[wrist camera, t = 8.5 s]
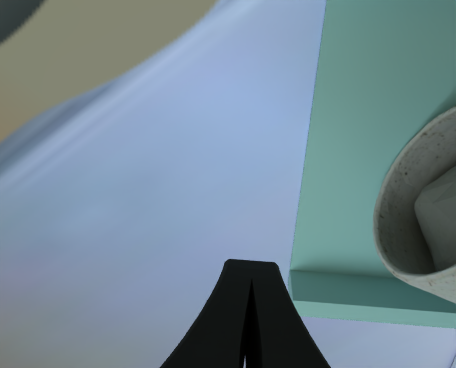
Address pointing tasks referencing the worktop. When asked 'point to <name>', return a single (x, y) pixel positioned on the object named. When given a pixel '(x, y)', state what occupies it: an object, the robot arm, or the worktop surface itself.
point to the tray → (367, 154)
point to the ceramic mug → (421, 210)
